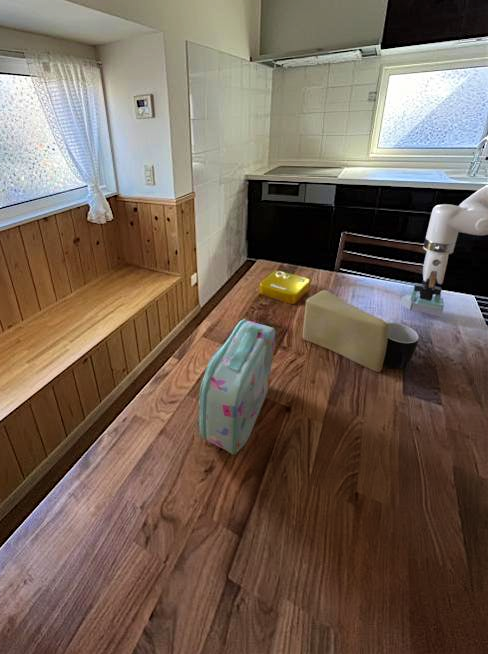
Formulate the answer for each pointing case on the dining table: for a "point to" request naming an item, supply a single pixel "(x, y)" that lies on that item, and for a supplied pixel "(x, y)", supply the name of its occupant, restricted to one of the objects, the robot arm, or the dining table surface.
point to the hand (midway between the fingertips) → (425, 296)
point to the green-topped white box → (424, 301)
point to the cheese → (345, 330)
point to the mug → (400, 346)
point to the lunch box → (236, 386)
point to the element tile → (284, 287)
